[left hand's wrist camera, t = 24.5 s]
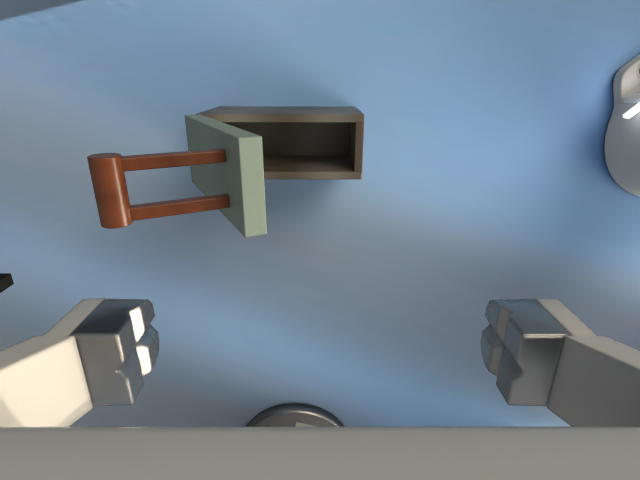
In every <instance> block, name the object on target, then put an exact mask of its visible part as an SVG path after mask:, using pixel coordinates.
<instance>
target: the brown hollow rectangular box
mask: <svg viewBox="0 0 640 480" xmlns="http://www.w3.org/2000/svg"><path fill="white" fill-rule="evenodd" d="M198 114H200V115H203V116H206V117H209V118H212V119H214V120H217V121H220V122H223V123H226V124H228V125H231V126H234V127H237V128H240V129H242V130H245V131H248V132H251V133H254V134H256V135H259V136H262V147H263V168H264V179H362V159H363V134H364V114H363V113H362V112H361V111H360V110H358V109H357V108H356V107H217V108H214V109H210V110H207V111H204V112H201V113H197V114H196V115H198Z"/></svg>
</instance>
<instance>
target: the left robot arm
mask: <svg viewBox="0 0 640 480" xmlns="http://www.w3.org/2000/svg"><path fill="white" fill-rule="evenodd" d="M639 68H640V54H639V55H637V56H636V57H635V58H633V59H632V60H631V61H629V62H628V63H627V64H625V65H624V66H623V67H621V68H620V69H619V70H618V71H617V73H616V75H615V77H614V82H613V96H614V108H613V112H612V115H611V118H610V121H609V124H608V127H607V131H606V136H605V146H604V150H605V159H606V164H607V167H608V170H609V172H610V174H611V176H612V177H613V179H614V180H615V182H616V183H617V184H618V185H619V186H620V187H621V188H623V189H624V190H625V191H627V192H629V193H631V194H633V195H635V196H638V197H640V74H639ZM154 317H155V314H154V309H153V304H152V303H151V302H150V301H149V300H141V299H105V298H103V299H83V300H81V301H80V302H79V303H78V304H77V305H76V306H75V307H74V308H73V309H72V310H71V311H69V312H68V313H67V314H66V315H65V316H64V317H63V318H62V319H61V320H60V321H59V322H58V323H57V324H56V325H54V326H53V327H52V328H51V329H50V330H49V331H48V332H47V333H46V334H45V335H44V336H35V337H32V338H30V339H28V340H25V341H23V342H20V343H18V344H15V345H13V346H11V347H8V348H6V349H3V350H1V351H0V480H640V351H639V350H636V349H634V348H632V347H629V346H627V345H624V344H622V343H620V342H617V341H615V340H612V339H610V338H608V337H605V336H596V335H595V334H594V333H593V332H592V331H591V330H590V329H589V328H588V327H587V326H586V325H585V324H583V323H582V322H581V321H580V320H579V319H578V318H577V317H576V316H575V315H574V314H573V313H572V312H571V311H570V310H568V309H567V308H566V307H565V306H564V305H563V304H562V303H561V302H560V301H559V300H556V299H553V298H549V299H511V300H490V301H489V303H488V305H487V308H486V314H485V317H486V318H487V320H488V321H489V323H490V324H489V325H488V327H487V328H486V329H485V330H484V331H483V332H482V338H481V352H482V357H483V361H484V364H485V365H486V367H487V369H488V371H490V372H491V373H493V374H494V375H496V376H497V381H496V385H497V387H498V388H499V390H500V392H501V394H502V395H503V397H504V399H505V400H506V402H507V404H508V405H526V406H547V408H548V409H549V410H551V411H552V412H553V413H554V414H556V415H557V416H558V417H560V418H561V419H562V420H564V421H565V422H566V423H568V424H569V425H570V426H572V427H68V426H70V425H71V424H72V423H74V422H75V421H76V420H78V419H79V418H80V417H82V416H83V415H84V414H86V413H87V412H88V411H90V410H91V409H92V408H93V406H114V405H132V404H133V402H134V400H135V399H136V397H137V395H138V394H139V392H140V390H141V388H142V387H143V385H144V381H143V376H144V375H146V374H147V373H149V372H150V371H152V369H153V367H154V365H155V363H156V361H157V357H158V352H159V337H158V332H157V331H156V330H155V329H154V328H153V327H152V325H151V324H150V323H151V321H152V320H153V318H154Z"/></svg>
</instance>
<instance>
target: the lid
mask: <svg viewBox="0 0 640 480" xmlns="http://www.w3.org/2000/svg"><path fill="white" fill-rule="evenodd" d="M185 123H186V132H187V140H188V149H189V151H185V152H171V153H158V154H144V155H131V156H121V154H118V153H100V154H93V155H90V156H88V157H87V159H88V164H89V169H90V174H91V179H92V183H93V188H94V193H95V198H96V203H97V208H98V213H99V217H100V222H101V226H102V227H104V228H121V227H125V226H128V225H130V224H131V223H132V222H133V221H135V220H142V219H149V218H157V217H164V216H171V215H179V214H186V213H193V212H201V211H208V210H215V209H219V210H220V211H221V212H222V213H223V215H224V216H225V217H226V218H227V219H228V220H229V221H230V222H231V223H232V224H233V225H234V226H235V227H236V228H237V229H238V230H239V231H240V232H241V233H242V235H243V236H244V237H252V236H257V235H263V234H267V229H266V208H265V188H264V168H263V147H262V136H259V135H256V134H254V133H251V132H248V131H245V130H242V129H240V128H237V127H234V126H231V125H228V124H226V123H223V122H220V121H217V120H214V119H212V118H209V117H206V116H203V115H200V114H198V115H185ZM179 166H190V167H191V175H192V182H193V183H194V184H195V185H196V186H197V187H198V188H199V189H200V190H201V191H202V192H203V194H204V195H205V196H204V197H196V198H188V199H180V200H172V201H163V202H155V203H147V204H139V205H131V206H130V203H129V197H128V191H127V185H126V180H125V174H124V171H134V170H146V169H157V168H168V167H179Z"/></svg>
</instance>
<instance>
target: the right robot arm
mask: <svg viewBox="0 0 640 480" xmlns="http://www.w3.org/2000/svg"><path fill="white" fill-rule="evenodd" d="M13 284H14V283H13V280H12V276H11V274H0V293H1V292H2V291H4V290H5V289H7V288H8V287H10V286H11V285H13ZM247 427H344V425H343V424H342V423H341V422H340V421H339V420H338V419H337V418H336V417H335V416H334V415H332V414H331V413H329V412H327V411H326V410H323V409H321V408H319V407H316V406H312V405H307V404H298V403H292V404H282V405H278V406H274V407H271V408H269V409H267V410H264V411H263V412H261V413H259V414H258V415H257V416H255V417H254V418H253V419H252V420H251V421H250V423H249V424H248V425H247Z"/></svg>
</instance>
